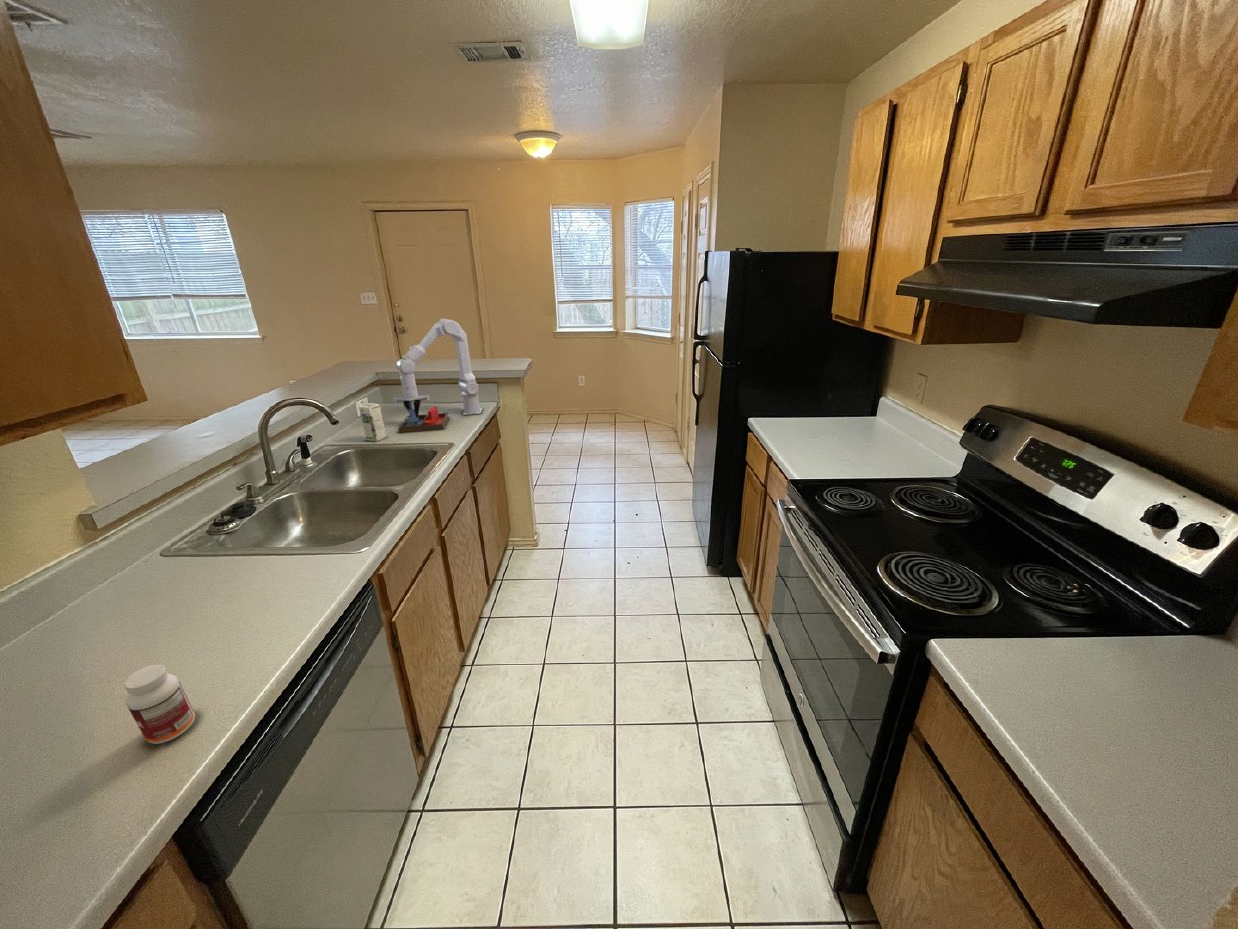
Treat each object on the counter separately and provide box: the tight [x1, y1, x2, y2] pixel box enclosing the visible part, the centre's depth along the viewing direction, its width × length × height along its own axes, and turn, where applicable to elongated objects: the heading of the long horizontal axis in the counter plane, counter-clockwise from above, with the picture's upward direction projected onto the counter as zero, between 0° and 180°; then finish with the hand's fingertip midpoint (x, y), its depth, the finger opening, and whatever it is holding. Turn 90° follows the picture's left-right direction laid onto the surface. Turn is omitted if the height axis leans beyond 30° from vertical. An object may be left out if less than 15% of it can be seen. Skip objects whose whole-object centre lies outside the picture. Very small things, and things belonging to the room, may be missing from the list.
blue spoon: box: [404, 408, 419, 423], centre depth 221 cm, size 13×4×6 cm, turn 10°
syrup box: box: [358, 402, 387, 442], centre depth 206 cm, size 6×6×14 cm
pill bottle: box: [123, 664, 196, 745], centre depth 78 cm, size 6×6×11 cm
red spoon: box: [424, 405, 439, 425], centre depth 225 cm, size 13×4×6 cm, turn 1°
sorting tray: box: [398, 412, 449, 434], centre depth 224 cm, size 17×18×2 cm
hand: (415, 416), depth 225 cm, fingers closed on blue spoon
